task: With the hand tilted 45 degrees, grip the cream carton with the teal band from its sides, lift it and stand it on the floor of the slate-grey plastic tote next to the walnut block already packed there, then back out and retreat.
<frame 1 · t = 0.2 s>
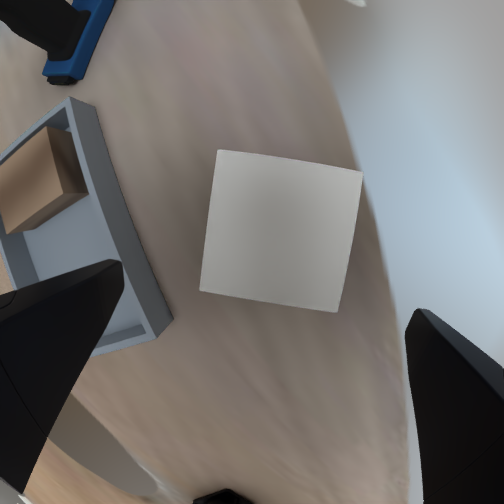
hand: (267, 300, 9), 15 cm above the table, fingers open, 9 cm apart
carton: (280, 215, 23), on the table
walnut block: (51, 182, 24), point 1 cm above the table, touching tote
handheld scanner: (89, 33, 22), on the table
tote: (72, 237, 25), on the table
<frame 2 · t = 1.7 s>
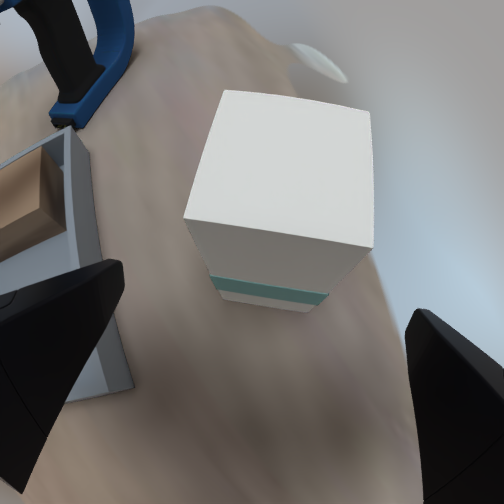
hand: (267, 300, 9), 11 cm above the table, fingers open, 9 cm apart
carton: (271, 265, 21), on the table
walnut block: (28, 217, 22), point 1 cm above the table, touching tote
handheld scanner: (97, 92, 28), on the table
tote: (35, 278, 21), on the table
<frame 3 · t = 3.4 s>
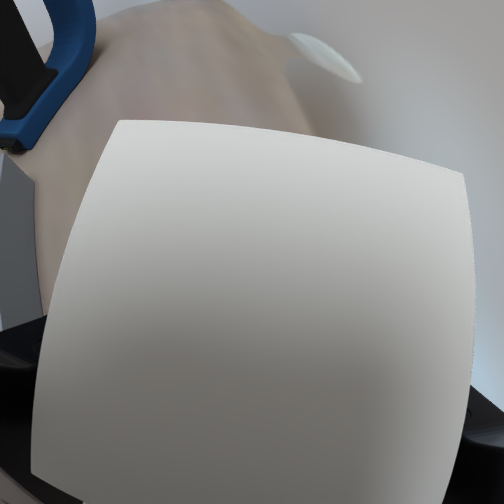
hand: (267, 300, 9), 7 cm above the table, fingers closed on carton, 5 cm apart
carton: (257, 352, 15), on the table, touching gripper
handheld scanner: (52, 102, 21), on the table
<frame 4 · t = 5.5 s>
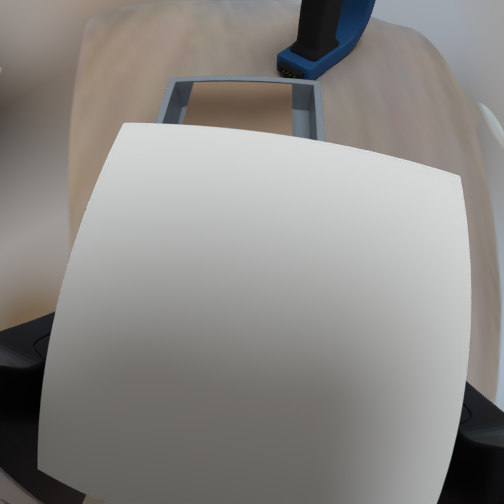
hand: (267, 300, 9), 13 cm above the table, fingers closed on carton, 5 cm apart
carton: (258, 351, 15), point 7 cm above the table, touching gripper
walnut block: (241, 138, 26), point 1 cm above the table, touching tote
handheld scanner: (319, 60, 30), on the table
tote: (235, 198, 25), on the table
when the fingers open (8 cm above the table, at t = 8.0 s): carton stays where it is, resting on tote.
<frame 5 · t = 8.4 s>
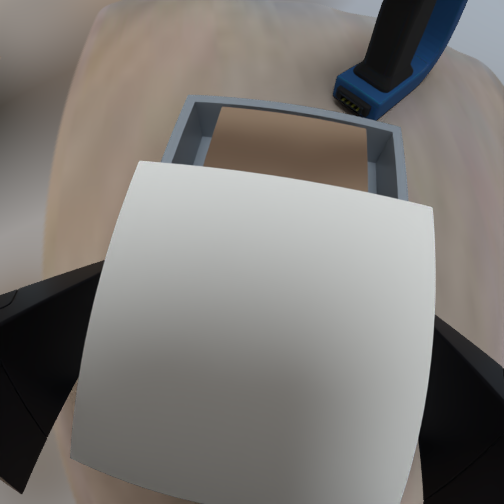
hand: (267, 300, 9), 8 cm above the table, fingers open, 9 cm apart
carton: (257, 353, 16), point 1 cm above the table, touching tote
walnut block: (282, 197, 19), point 1 cm above the table, touching tote
handheld scanner: (384, 88, 23), on the table
tote: (268, 290, 17), on the table
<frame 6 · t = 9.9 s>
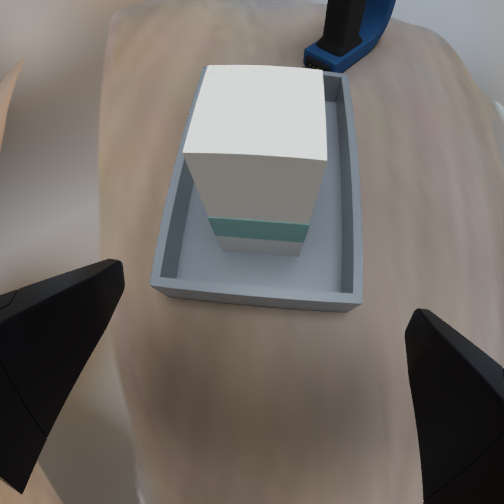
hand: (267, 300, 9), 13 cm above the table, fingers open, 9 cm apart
carton: (263, 218, 24), point 1 cm above the table, touching tote
handheld scanner: (343, 56, 31), on the table
tote: (267, 181, 25), on the table
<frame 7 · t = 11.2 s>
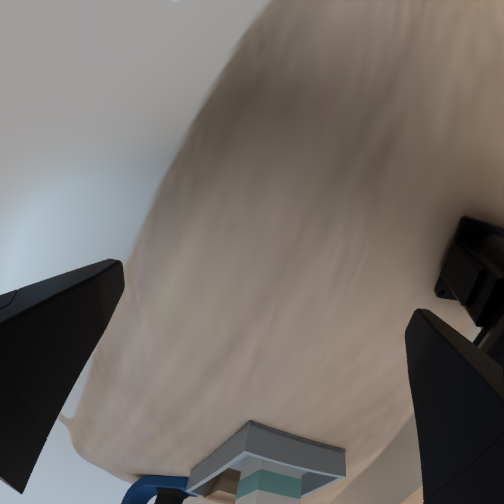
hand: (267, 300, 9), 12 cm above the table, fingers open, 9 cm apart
carton: (272, 461, 33), point 1 cm above the table, touching tote
walnut block: (240, 479, 37), point 1 cm above the table, touching tote
handheld scanner: (169, 479, 43), on the table
tote: (259, 465, 35), on the table
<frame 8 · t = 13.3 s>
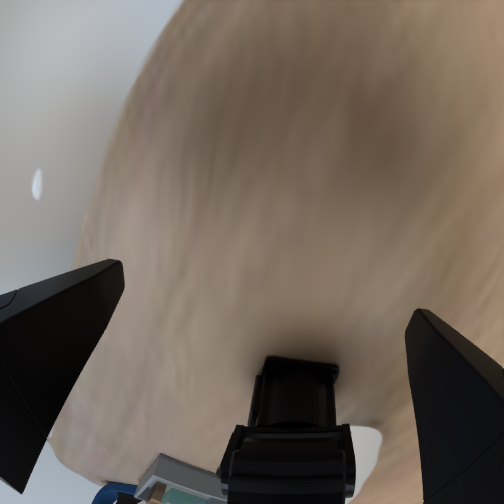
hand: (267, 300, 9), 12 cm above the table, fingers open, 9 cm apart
carton: (188, 481, 41), point 1 cm above the table, touching tote
walnut block: (174, 491, 45), point 1 cm above the table, touching tote
handheld scanner: (128, 486, 50), on the table
tote: (183, 483, 43), on the table
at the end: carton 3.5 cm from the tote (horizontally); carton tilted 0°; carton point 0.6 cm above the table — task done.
